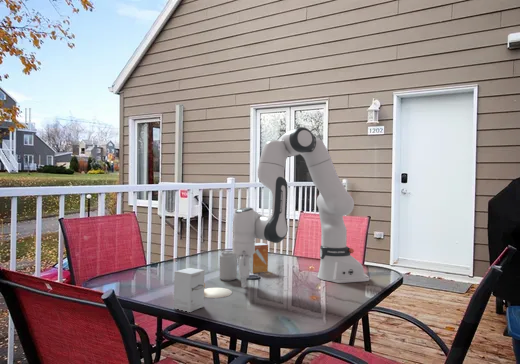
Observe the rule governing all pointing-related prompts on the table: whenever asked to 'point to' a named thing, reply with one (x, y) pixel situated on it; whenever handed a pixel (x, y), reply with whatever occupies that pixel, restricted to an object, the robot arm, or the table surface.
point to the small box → (259, 259)
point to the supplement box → (189, 289)
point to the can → (228, 266)
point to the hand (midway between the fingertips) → (243, 283)
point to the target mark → (216, 292)
